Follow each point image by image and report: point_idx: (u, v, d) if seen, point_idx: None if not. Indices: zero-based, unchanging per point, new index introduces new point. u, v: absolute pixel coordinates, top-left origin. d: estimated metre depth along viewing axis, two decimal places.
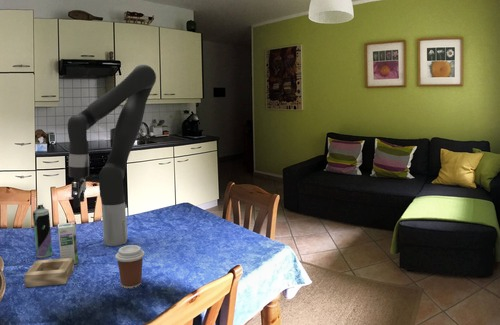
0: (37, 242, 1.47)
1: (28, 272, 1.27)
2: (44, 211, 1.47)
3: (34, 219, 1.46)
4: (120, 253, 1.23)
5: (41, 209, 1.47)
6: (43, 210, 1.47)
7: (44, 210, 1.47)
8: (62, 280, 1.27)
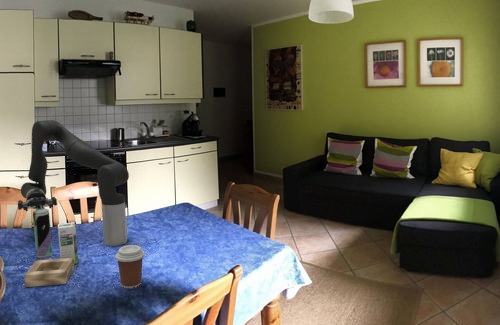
0: (37, 242, 1.47)
1: (28, 272, 1.27)
2: (44, 211, 1.47)
3: (34, 219, 1.46)
4: (120, 253, 1.23)
5: (41, 209, 1.47)
6: (43, 210, 1.47)
7: (44, 210, 1.47)
8: (62, 280, 1.27)
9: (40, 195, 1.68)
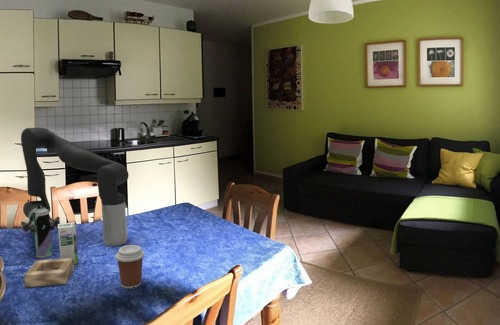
0: (37, 242, 1.47)
1: (28, 272, 1.27)
2: (44, 211, 1.47)
3: (34, 219, 1.46)
4: (120, 253, 1.23)
5: (41, 209, 1.47)
6: (44, 210, 1.47)
7: (44, 210, 1.47)
8: (62, 280, 1.27)
9: None
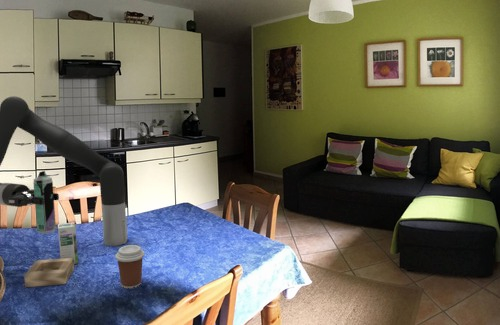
0: (44, 215, 1.26)
1: (28, 272, 1.27)
2: (50, 178, 1.27)
3: (40, 188, 1.24)
4: (120, 253, 1.23)
5: (46, 176, 1.26)
6: (49, 177, 1.27)
7: (49, 177, 1.27)
8: (62, 280, 1.27)
9: (25, 188, 1.32)
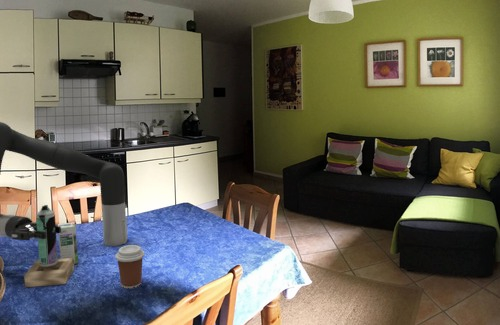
0: (46, 248, 1.28)
1: (28, 272, 1.27)
2: (52, 212, 1.29)
3: (43, 222, 1.26)
4: (120, 253, 1.23)
5: (48, 210, 1.28)
6: (51, 211, 1.29)
7: (51, 211, 1.29)
8: (62, 280, 1.27)
9: (27, 221, 1.34)
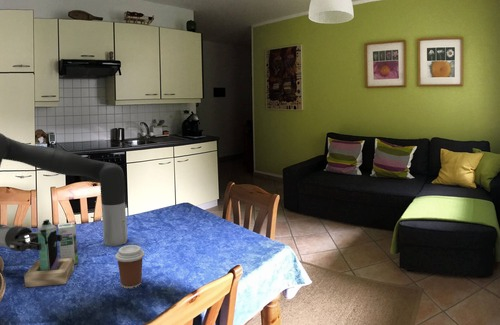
0: (48, 263, 1.29)
1: (28, 272, 1.27)
2: (54, 226, 1.30)
3: (44, 237, 1.27)
4: (120, 253, 1.23)
5: (50, 224, 1.29)
6: (53, 225, 1.30)
7: (53, 225, 1.30)
8: (62, 280, 1.27)
9: (27, 231, 1.34)
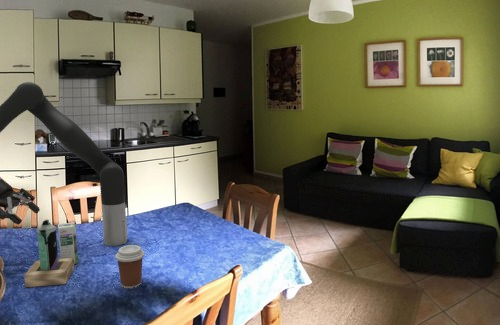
0: (48, 263, 1.29)
1: (28, 272, 1.27)
2: (53, 226, 1.30)
3: (44, 237, 1.27)
4: (120, 253, 1.23)
5: (49, 225, 1.29)
6: (52, 225, 1.30)
7: (52, 225, 1.30)
8: (62, 280, 1.27)
9: (9, 189, 1.37)
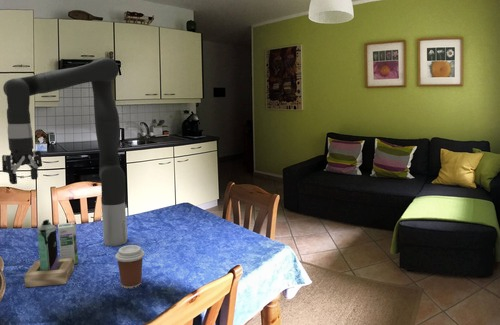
0: (48, 263, 1.29)
1: (28, 272, 1.27)
2: (53, 226, 1.30)
3: (44, 237, 1.27)
4: (120, 253, 1.23)
5: (49, 224, 1.29)
6: (52, 225, 1.30)
7: (52, 225, 1.30)
8: (62, 280, 1.27)
9: (29, 149, 1.39)
